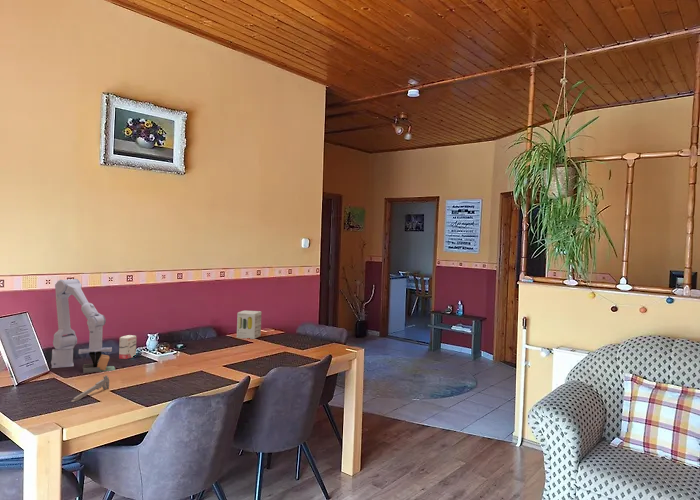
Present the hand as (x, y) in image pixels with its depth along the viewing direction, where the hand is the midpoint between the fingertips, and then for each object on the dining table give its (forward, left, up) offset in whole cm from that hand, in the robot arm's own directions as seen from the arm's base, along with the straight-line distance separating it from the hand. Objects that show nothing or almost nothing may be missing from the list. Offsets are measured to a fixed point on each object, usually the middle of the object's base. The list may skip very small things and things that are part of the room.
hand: (94, 367), depth 242 cm
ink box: (+17, +23, -2) cm, 29 cm away
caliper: (-3, -41, -2) cm, 41 cm away
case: (-2, +3, -2) cm, 4 cm away
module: (+3, 0, -1) cm, 3 cm away
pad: (+5, 0, -2) cm, 6 cm away
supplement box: (+98, +59, -2) cm, 114 cm away
